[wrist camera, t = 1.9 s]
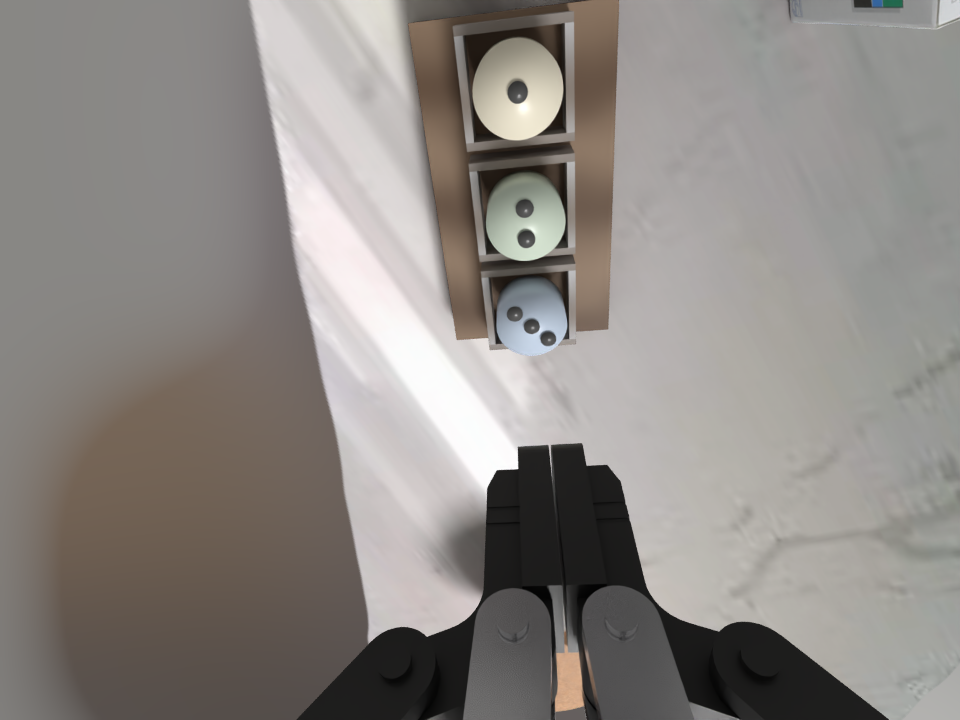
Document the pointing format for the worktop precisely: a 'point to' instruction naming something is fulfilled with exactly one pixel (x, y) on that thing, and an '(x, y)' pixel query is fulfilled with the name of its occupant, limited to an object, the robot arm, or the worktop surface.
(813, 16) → the light bulb box
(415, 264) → the worktop surface
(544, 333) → the three-pip button
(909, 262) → the worktop surface
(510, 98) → the one-pip button
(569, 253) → the button panel
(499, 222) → the two-pip button
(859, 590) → the worktop surface
